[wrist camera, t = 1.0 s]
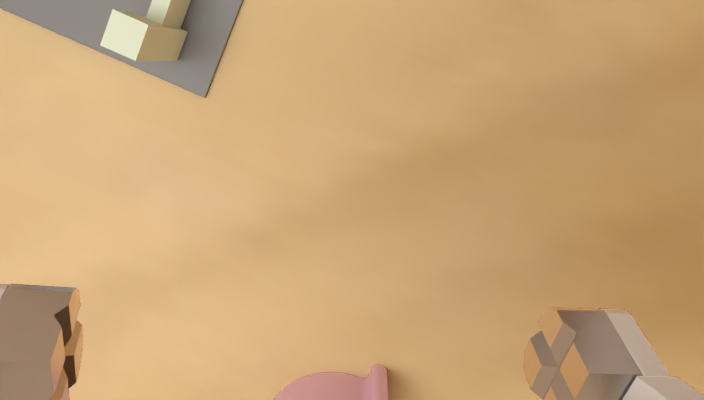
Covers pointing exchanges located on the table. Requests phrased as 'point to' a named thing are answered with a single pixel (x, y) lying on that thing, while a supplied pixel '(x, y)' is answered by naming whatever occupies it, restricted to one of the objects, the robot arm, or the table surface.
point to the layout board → (97, 3)
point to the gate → (148, 32)
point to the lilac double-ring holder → (338, 386)
